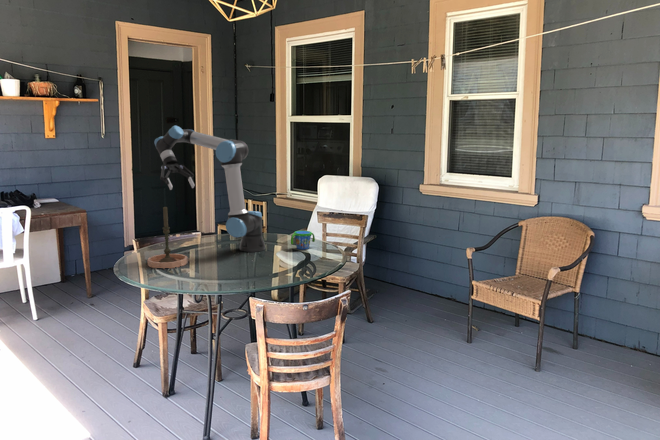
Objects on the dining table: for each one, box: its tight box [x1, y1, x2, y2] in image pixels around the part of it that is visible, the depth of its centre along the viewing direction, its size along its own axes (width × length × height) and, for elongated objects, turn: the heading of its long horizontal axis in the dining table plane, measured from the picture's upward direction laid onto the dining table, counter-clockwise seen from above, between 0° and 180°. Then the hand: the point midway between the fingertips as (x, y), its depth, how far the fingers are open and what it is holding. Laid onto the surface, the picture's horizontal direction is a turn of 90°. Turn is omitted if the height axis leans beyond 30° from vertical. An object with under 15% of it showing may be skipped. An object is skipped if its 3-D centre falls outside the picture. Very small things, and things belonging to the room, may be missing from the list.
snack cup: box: [290, 230, 316, 250], centre depth 316 cm, size 16×10×10 cm
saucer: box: [147, 253, 188, 270], centre depth 279 cm, size 20×20×3 cm
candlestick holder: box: [159, 206, 177, 263], centre depth 276 cm, size 9×9×30 cm
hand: (182, 187), depth 298 cm, fingers open, 13 cm apart
